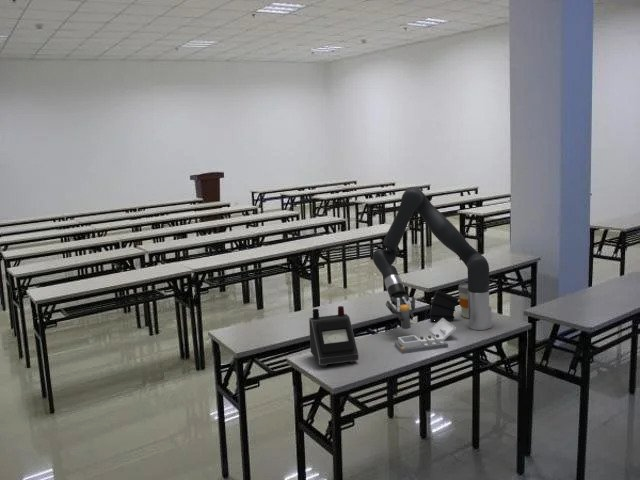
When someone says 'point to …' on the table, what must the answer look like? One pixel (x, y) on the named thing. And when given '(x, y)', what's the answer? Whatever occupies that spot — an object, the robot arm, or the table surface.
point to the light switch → (443, 328)
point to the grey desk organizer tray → (419, 343)
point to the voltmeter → (332, 338)
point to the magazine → (442, 306)
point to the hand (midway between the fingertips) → (407, 319)
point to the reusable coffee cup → (464, 299)
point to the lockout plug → (405, 316)
